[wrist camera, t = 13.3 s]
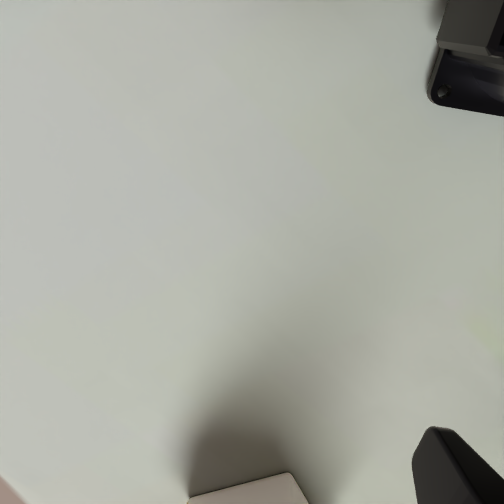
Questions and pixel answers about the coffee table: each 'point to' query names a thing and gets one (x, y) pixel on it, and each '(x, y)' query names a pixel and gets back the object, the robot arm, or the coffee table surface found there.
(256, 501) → the medicine bottle
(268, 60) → the coffee table surface
